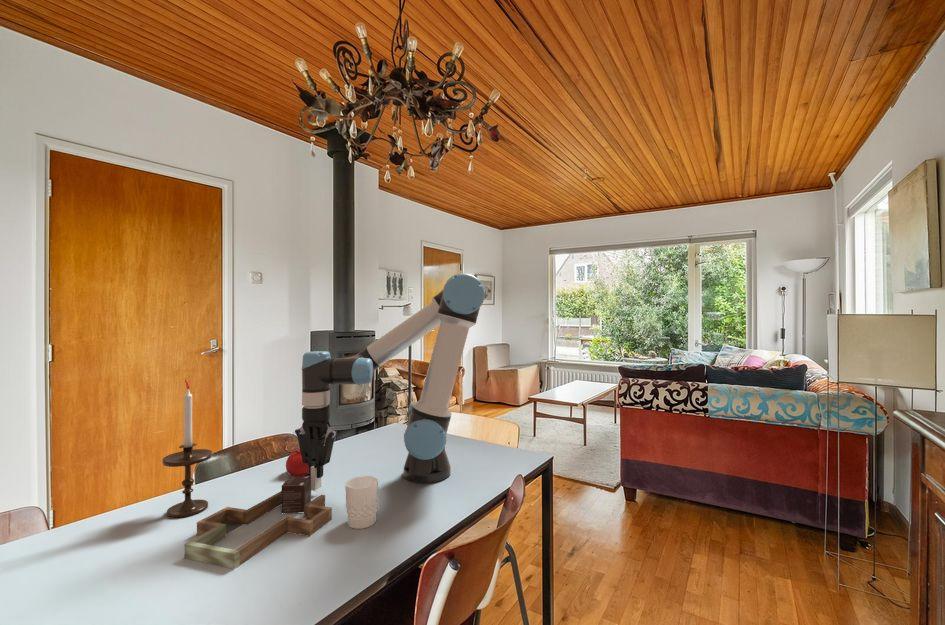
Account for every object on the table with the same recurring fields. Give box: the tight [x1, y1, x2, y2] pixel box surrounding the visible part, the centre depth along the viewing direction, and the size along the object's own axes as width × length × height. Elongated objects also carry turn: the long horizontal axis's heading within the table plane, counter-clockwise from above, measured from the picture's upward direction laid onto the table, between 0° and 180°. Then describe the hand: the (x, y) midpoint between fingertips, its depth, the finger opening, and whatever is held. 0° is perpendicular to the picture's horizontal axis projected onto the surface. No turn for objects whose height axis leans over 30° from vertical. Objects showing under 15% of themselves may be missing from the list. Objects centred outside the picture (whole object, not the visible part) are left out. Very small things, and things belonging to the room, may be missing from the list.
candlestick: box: [162, 378, 213, 519], centre depth 111 cm, size 11×11×35 cm
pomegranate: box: [285, 448, 309, 477], centre depth 137 cm, size 10×10×9 cm
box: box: [280, 475, 312, 515], centre depth 112 cm, size 6×6×7 cm
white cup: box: [344, 475, 379, 530], centre depth 104 cm, size 8×8×10 cm
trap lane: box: [183, 490, 333, 570], centre depth 100 cm, size 26×29×3 cm
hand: (316, 488), depth 119 cm, fingers closed
